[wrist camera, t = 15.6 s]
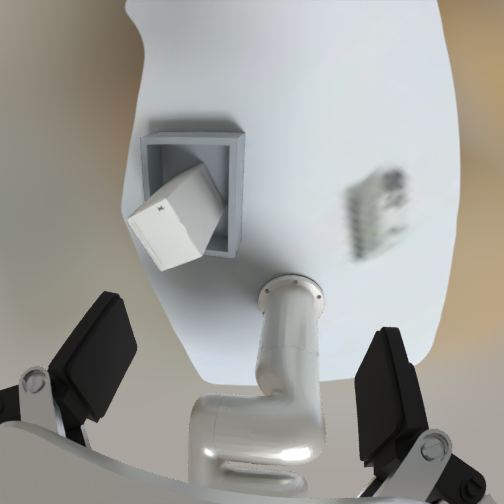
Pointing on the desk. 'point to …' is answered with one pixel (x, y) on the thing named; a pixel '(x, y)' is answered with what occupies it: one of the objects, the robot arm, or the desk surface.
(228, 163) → the tote
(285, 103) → the desk surface
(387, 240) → the desk surface
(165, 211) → the skincare box
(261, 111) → the desk surface
